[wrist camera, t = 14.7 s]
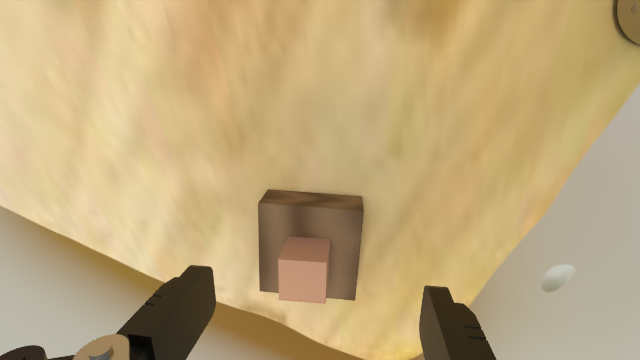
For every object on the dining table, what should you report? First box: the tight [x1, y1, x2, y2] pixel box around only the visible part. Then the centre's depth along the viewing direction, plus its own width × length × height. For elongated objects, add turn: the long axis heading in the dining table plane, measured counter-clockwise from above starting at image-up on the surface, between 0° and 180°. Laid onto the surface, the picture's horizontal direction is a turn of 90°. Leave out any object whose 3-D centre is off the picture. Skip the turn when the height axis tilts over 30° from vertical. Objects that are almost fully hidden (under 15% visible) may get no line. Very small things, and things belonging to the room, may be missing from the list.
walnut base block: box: [258, 190, 363, 301], centre depth 40 cm, size 12×12×5 cm
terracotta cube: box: [278, 236, 330, 304], centre depth 36 cm, size 5×5×5 cm
